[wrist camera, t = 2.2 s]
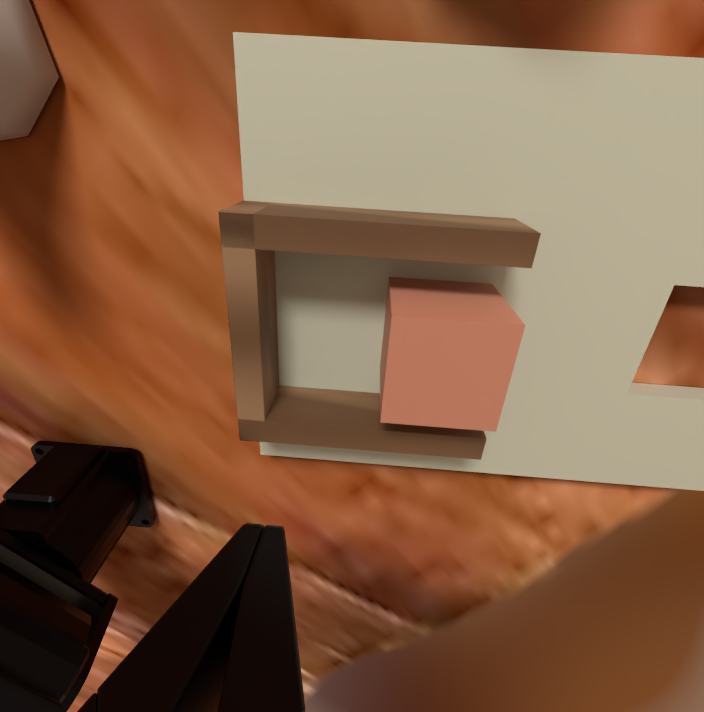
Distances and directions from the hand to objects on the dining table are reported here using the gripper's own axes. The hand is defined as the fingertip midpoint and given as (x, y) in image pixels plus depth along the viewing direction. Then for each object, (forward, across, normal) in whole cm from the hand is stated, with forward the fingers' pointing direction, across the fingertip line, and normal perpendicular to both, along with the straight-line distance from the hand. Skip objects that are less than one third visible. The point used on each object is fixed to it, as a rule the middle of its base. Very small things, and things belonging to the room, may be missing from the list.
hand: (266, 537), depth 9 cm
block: (+12, -5, 0) cm, 13 cm away
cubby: (+12, -2, 0) cm, 12 cm away
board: (+13, -9, -1) cm, 16 cm away
